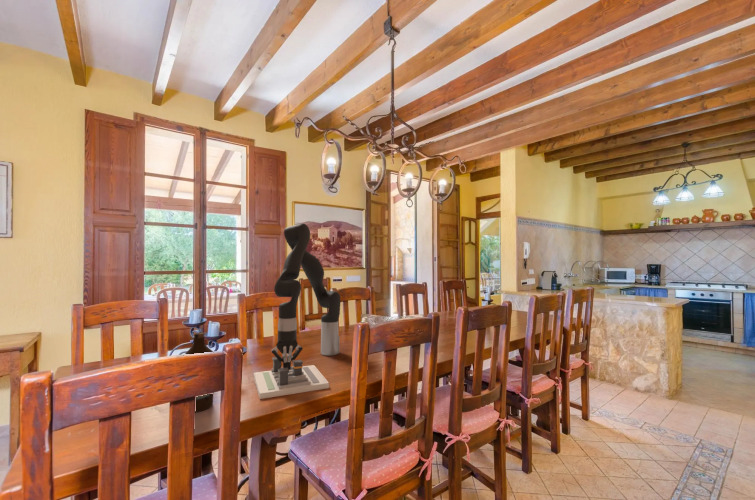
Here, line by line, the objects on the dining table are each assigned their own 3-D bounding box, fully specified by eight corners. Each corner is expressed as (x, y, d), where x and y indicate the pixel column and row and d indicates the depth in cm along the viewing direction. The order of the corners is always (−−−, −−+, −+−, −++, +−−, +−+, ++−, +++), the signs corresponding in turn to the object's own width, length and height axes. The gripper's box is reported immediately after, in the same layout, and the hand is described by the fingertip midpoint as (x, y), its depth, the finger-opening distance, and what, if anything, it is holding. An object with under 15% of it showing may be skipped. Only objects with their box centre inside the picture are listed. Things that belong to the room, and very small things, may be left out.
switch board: (313, 369, 155) (314, 351, 155) (328, 388, 133) (329, 366, 133) (253, 377, 144) (254, 357, 144) (259, 399, 122) (259, 376, 122)
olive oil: (178, 404, 117) (180, 332, 118) (212, 397, 123) (213, 328, 124) (180, 416, 108) (182, 338, 109) (216, 408, 114) (218, 334, 115)
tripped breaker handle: (300, 373, 142) (301, 359, 142) (302, 376, 139) (302, 362, 139) (292, 374, 141) (292, 360, 141) (293, 377, 137) (294, 363, 138)
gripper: (301, 325, 145) (301, 366, 144) (269, 327, 139) (268, 370, 139) (305, 329, 138) (304, 371, 138) (271, 331, 132) (271, 376, 132)
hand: (286, 370), depth 138 cm, fingers closed
